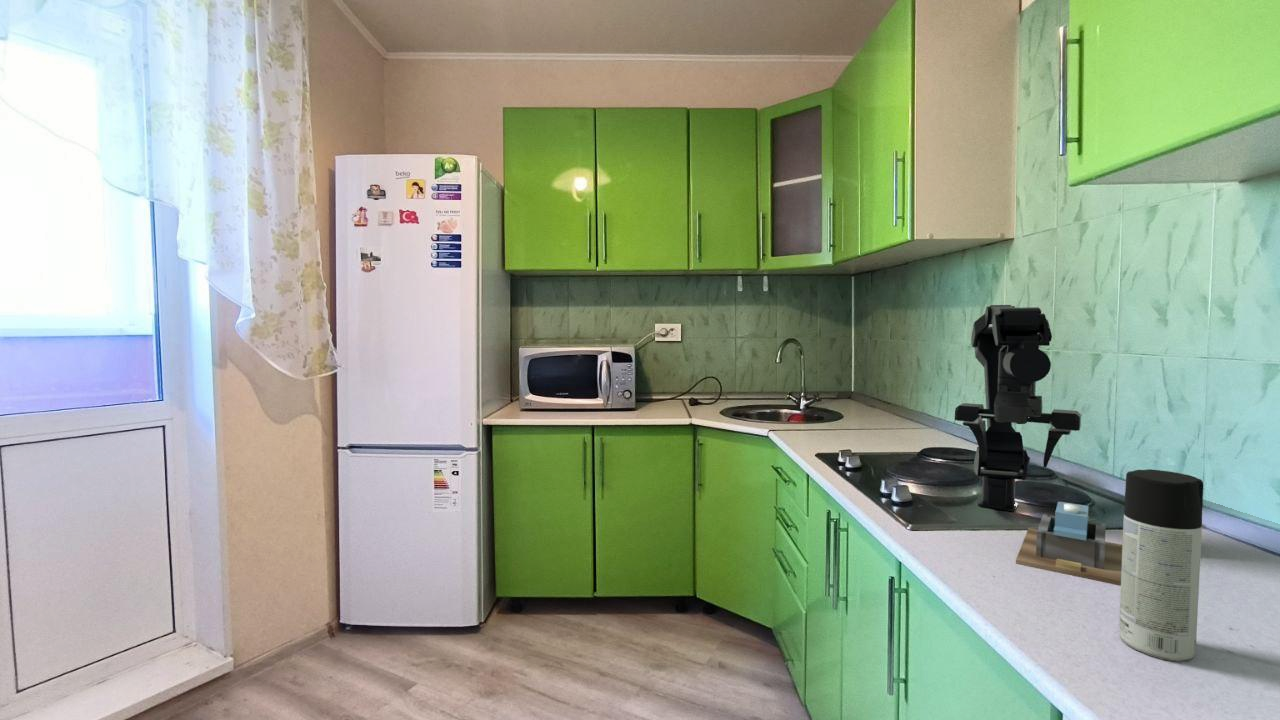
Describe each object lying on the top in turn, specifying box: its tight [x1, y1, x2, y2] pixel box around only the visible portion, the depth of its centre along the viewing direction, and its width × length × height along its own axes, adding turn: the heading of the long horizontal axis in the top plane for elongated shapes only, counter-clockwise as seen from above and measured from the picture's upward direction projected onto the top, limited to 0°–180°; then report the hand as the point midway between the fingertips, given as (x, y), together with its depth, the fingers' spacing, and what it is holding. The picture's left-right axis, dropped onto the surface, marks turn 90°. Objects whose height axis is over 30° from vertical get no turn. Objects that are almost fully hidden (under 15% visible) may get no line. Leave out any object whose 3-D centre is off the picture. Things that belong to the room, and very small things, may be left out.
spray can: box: [1118, 468, 1204, 662], centre depth 66 cm, size 7×7×20 cm
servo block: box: [1054, 501, 1089, 540], centre depth 93 cm, size 12×4×8 cm, turn 141°
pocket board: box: [1015, 513, 1123, 586], centre depth 93 cm, size 18×13×4 cm
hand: (1014, 463), depth 106 cm, fingers open, 9 cm apart
